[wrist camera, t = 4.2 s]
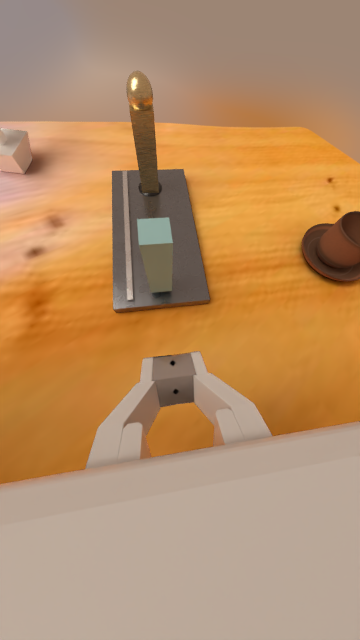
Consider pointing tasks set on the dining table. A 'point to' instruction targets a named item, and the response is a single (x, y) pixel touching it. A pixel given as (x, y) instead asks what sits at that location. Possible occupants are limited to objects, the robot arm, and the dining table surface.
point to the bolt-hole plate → (152, 202)
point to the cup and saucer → (335, 248)
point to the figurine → (14, 151)
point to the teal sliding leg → (156, 252)
